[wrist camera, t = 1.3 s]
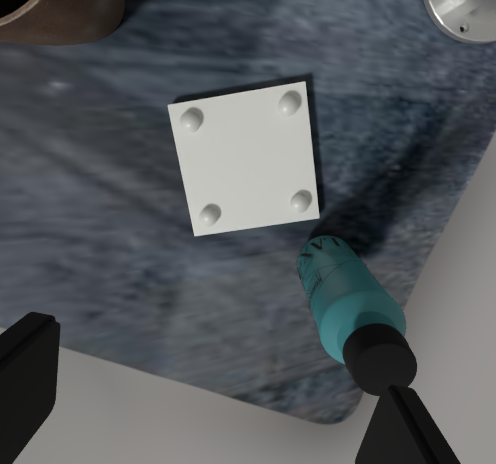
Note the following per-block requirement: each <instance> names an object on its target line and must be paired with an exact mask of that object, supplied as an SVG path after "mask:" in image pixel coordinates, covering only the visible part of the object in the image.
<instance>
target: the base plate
mask: <svg viewBox="0 0 496 464" xmlns="http://www.w3.org/2000/svg"><path fill="white" fill-rule="evenodd" d="M168 110H169V115H170V120H171V124H172V129H173V134H174V139H175V144H176V149H177V153H178V158H179V163H180V168H181V173H182V178H183V182H184V187H185V192H186V197H187V202H188V207H189V211H190V216H191V221H192V226H193V231H194V236H200V235H207V234H214V233H221V232H228V231H234V230H241V229H248V228H255V227H262V226H269V225H276V224H282V223H289V222H296V221H303V220H310V219H317V218H319V208H318V199H317V189H316V179H315V170H314V160H313V150H312V140H311V131H310V121H309V111H308V101H307V92H306V82H305V81H304V82H298V83H293V84H287V85H281V86H275V87H269V88H264V89H258V90H252V91H246V92H240V93H234V94H229V95H223V96H217V97H211V98H205V99H200V100H194V101H188V102H182V103H176V104H171V105H168Z"/></svg>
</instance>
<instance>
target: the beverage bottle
mask: <svg viewBox="0 0 496 464" xmlns="http://www.w3.org/2000/svg"><path fill="white" fill-rule="evenodd" d="M337 237H338V236H337ZM337 237H334V235H333V236H323V235H322V236H318V237H315V238H313V239H311V240H310V241H308V242H307V244H306V245H305V246H304V247H302V250H300V251H301V252H299V253H300V254H299V258H298V261H297V263H298V269H299V270H298V272H300V273H299V276H300V275H301V276H300V279H302V282H303V283H302V284H303V285H302V286H304V289H305V291H306V293H305V294H307V298H308V300H309V303H310V306H311V309H312V313H313V316H314V318H315V321H316V324H317V327H318V330H319V335H320V339H321V342H322V345H323V347H324V348H325V350H326V351H327V352H328V354H329V355H330V356H332V357H333V358H334V359H336V360H337V361H339V362H341V363H343V364H345V365H346V368H347V369H348V371H349V372H350V374H351V376H352V377H353V379H354V381H355V383H356V384H357V385H358V386H359V388H361V389H362V390H363V391H365V392H366V393H368V394H371V395H375V396H380V395H381V392H382V390H383V389H385V388H386V389H388V387H389V386H390V385H393V384H394V385H398V386H403V387H408V386H409V385H410V384H411V383H412V381H413V380H414V378H415V375H416V372H417V362H416V358H415V356H414V354H413V352H412V351H411V349H410V347H409V345H408V343H407V341H406V339H405V338H404V336H405V332H406V320H405V315H404V312H403V310H402V308H401V307H400V305H399V304H398V303H397V302H396V301H395V300H394V299H393V298H392V297H391V296H390V295H389V294H388V293H387V292H386V290H385V289H384V288H383V287H382V286H381V284H380V283H379V282H378V281H377V280H376V278H375V277H374V276H373V275H372V274H371V272H370V271H369V269H368V268H367V267H366V266H365V264H364V263H363V262H362V261H361V260H360V259H359V256H357V255H356V253H354V252H355V251H354V250H353V249H352V248H351V247H350V246H349V245H348V242H347V243H346V242H344V241H343V240H341V239H339V238H337ZM353 251H354V252H353ZM361 259H362V258H361ZM366 265H367V264H366ZM367 266H368V265H367ZM304 289H303V290H304ZM308 300H307V301H308ZM309 303H308V304H309ZM310 313H311V312H310Z"/></svg>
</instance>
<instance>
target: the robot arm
mask: <svg viewBox="0 0 496 464" xmlns="http://www.w3.org/2000/svg"><path fill="white" fill-rule="evenodd" d="M423 1H424V4H425V7H426V9H427V12H428V14H429V15H430V17H431V19H432V20H433V22H434V23H435V24H436V26H437V27H438V28H439V29H440V30H441V31H442V32H444V33H445V34H446V35H448V36H449V37H451V38H453V39H455V40H458V41H461V42H463V43H470V44H486V43H491V42H495V41H496V0H423ZM460 29H461V31H460ZM59 340H60V324H59V323H58V322H56V321H55V317H54V316H52V315H47V314H42V313H37V312H30V313H28V314H27V315H26V316H24V317H23V318H22V319H20V320H19V321H18V322H16V323H15V324H14V325H12V326H11V327H10V328H8V329H7V330H6V331H4V332H3V333H2V334H1V335H0V464H12V463H13V462H14V461H15V459H16V458H17V457H18V455H19V454H20V453H21V451H22V450H23V449H24V447H25V446H26V445H27V443H28V442H29V440H30V439H31V438H32V437H33V435H34V434H35V433H36V432H37V430H38V429H39V428H40V426H41V425H42V424H43V422H44V421H45V420H46V418H47V417H48V416H49V414H50V413H51V411H52V409H53V407H54V404H55V400H56V386H57V371H58V354H59ZM355 464H460V462H459V460H458V459H457V457H456V456H455V454H454V452H453V451H452V449H451V447H450V446H449V444H448V443H447V441H446V440H445V438H444V436H443V435H442V433H441V431H440V430H439V428H438V427H437V425H436V424H435V422H434V420H433V419H432V417H431V415H430V414H429V412H428V411H427V409H426V407H425V406H424V404H423V403H422V401H421V400H420V398H419V396H418V395H417V393H416V392H415V390H414V389H412V388H408V387H403V386H398V385H394V384H393V385H390V386H389V387H388V389H386V388H385V389H383V390H382V392H381V395H380V397H379V400H378V402H377V405H376V408H375V410H374V413H373V415H372V418H371V421H370V423H369V425H368V428H367V431H366V433H365V436H364V438H363V441H362V443H361V446H360V449H359V451H358V454H357V457H356V460H355Z"/></svg>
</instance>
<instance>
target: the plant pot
mask: <svg viewBox="0 0 496 464" xmlns="http://www.w3.org/2000/svg"><path fill="white" fill-rule="evenodd" d="M124 10H125V0H0V41H5V42H12V43H21V44H32V45H54V46H59V45H76V44H83V43H88V42H93V41H97V40H100V39H103V38H105V37H107V36H108V35H110V34H111V33H112V32H114V31H115V29H116V28H117V27H118V25H119V24H120V22H121V20H122V17H123V14H124Z"/></svg>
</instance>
